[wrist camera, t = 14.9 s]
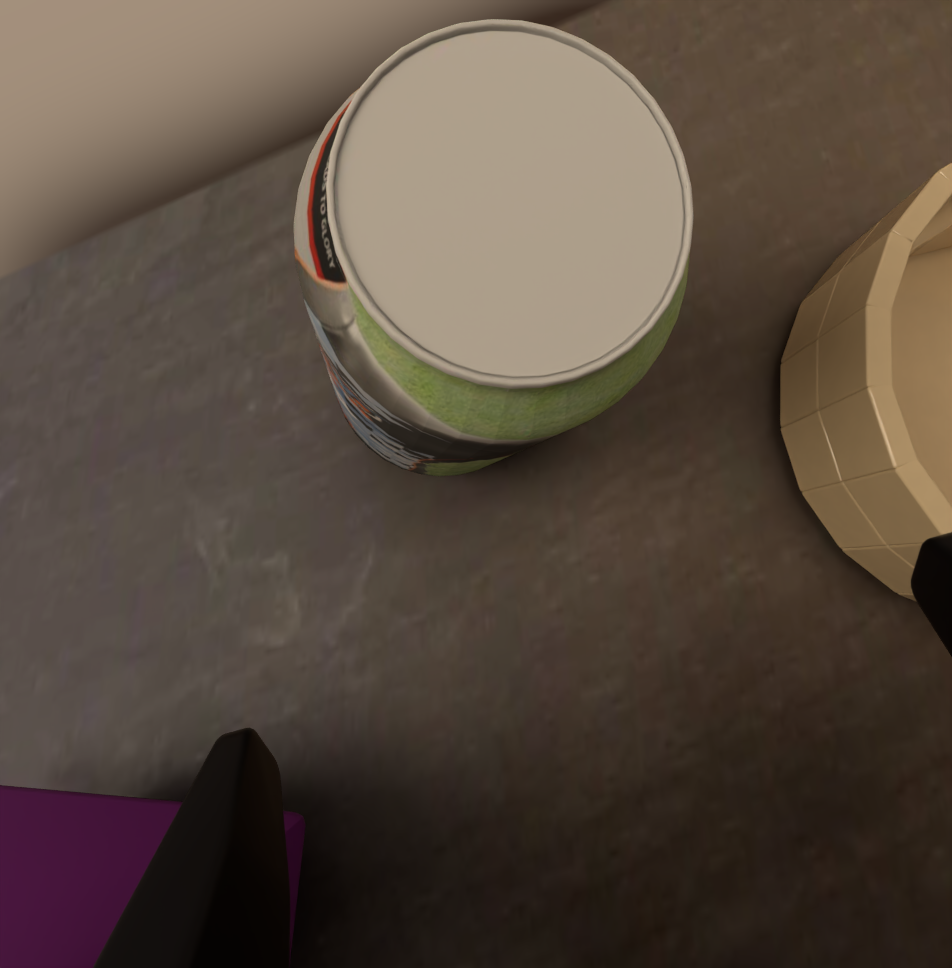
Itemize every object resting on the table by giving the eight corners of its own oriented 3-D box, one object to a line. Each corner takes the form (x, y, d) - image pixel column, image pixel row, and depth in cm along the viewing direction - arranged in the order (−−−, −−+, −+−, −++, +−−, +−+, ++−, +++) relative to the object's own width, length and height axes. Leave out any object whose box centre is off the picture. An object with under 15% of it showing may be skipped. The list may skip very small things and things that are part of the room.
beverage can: (389, 255, 21) (288, -154, 9) (615, 342, 21) (810, 37, 9) (306, 443, 20) (81, 262, 9) (540, 536, 20) (644, 484, 8)
